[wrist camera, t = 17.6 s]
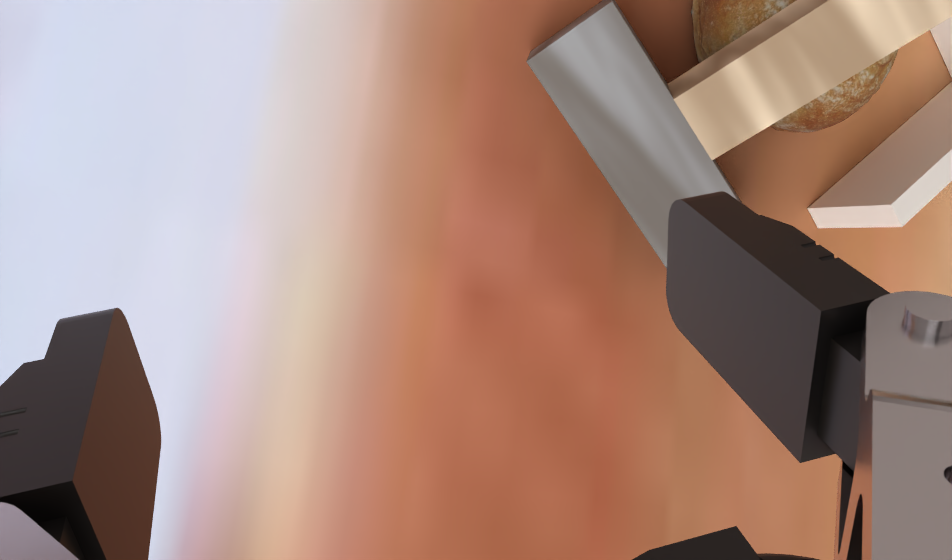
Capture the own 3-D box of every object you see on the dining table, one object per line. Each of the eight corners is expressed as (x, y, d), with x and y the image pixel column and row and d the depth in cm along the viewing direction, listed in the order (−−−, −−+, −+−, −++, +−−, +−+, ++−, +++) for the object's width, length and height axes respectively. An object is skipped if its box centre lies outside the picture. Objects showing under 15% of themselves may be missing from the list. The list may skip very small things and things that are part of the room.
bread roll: (623, 54, 41) (691, 95, 34) (740, -153, 38) (842, -156, 31) (772, 135, 45) (861, 187, 38) (891, -48, 42) (1013, -28, 34)
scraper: (681, 292, 36) (1122, 51, 30) (525, 63, 33) (983, -260, 27) (675, 265, 39) (1078, 38, 33) (531, 50, 36) (948, -246, 30)
